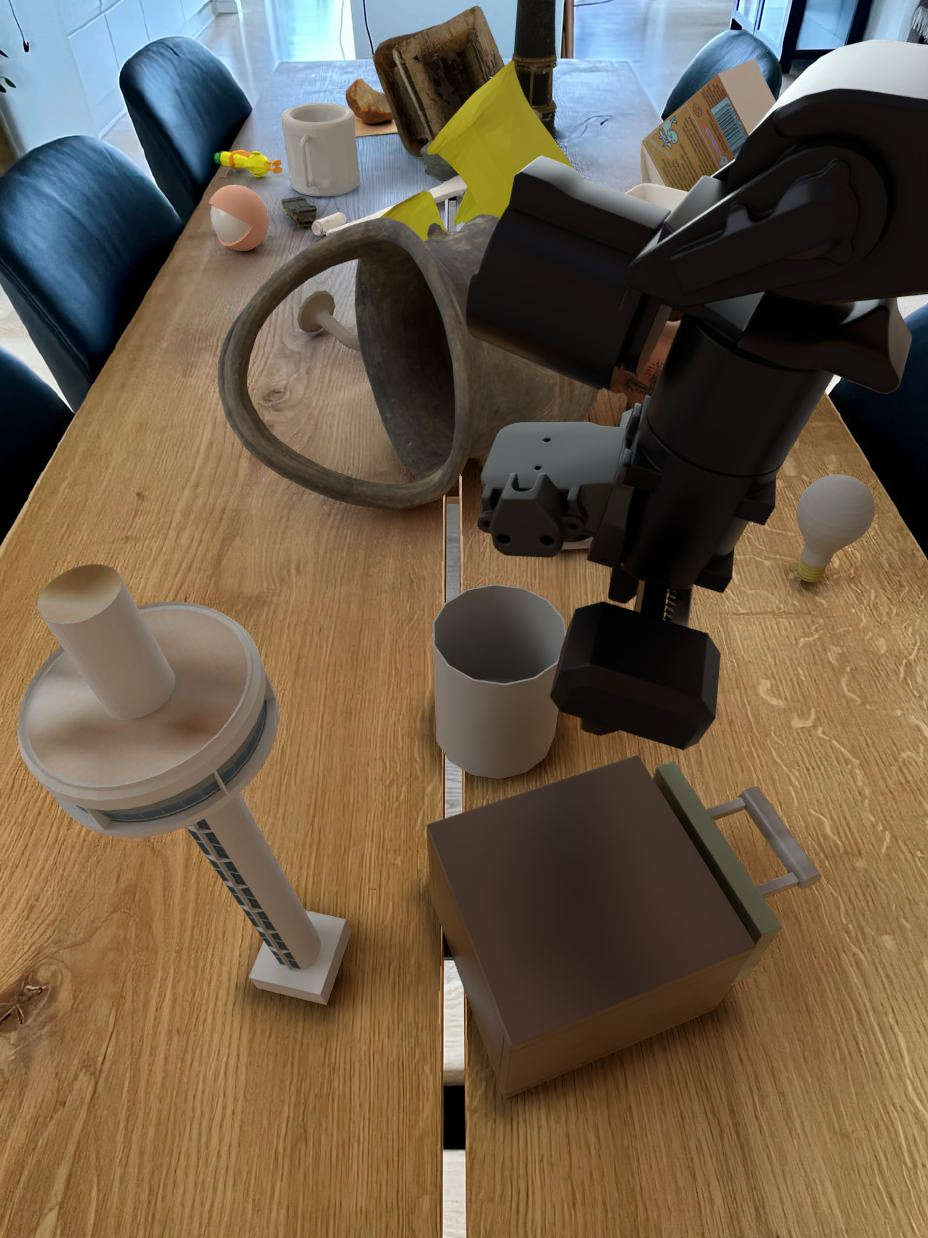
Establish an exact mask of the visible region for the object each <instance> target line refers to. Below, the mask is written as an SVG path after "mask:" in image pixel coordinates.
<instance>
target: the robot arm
mask: <svg viewBox="0 0 928 1238" xmlns="http://www.w3.org/2000/svg"><path fill="white" fill-rule="evenodd" d="M925 295H928V44H921V43H915V42H907V41H900V40H893V39H892V40H891V39H868V40H865V41H860V42H856V43H852V44H847V45H843V46H840V47H838V48H836V49H834V50H832V51H830V52H828V53H826V54H824V55H822V56H820V57H819V58H818V59H817V60H816V61H814V62H813V63H812V64H811V65H809V66H808V67H807V68H806V69H805V70H804V71H803V72H802V73H801V74H800V75H799V76H798V77H797V78H796V79H795V80H794V81H793V83H791V85H789V86H788V87H787V89H786V90H784V92H783V93H782V94H781V96H780V97H779V98H777V100H776V103H775V104H774V105H773V107H772V108H771V109H770V110H769V112H768V113H767V114H766V115H765V116H764V118H763V119H762V120H761V121H760V123H759V124H758V125H757V126H756V127H755V129H754V130H753V131H752V132H751V133H750V135H749V136H748V137H747V139H746V140H745V142H744V144H743V146H742V148H741V150H740V151H739V153H738V155H737V157H736V159H734V160H733V161H731V162H730V163H729V164H727V165H726V166H724V167H723V168H722V169H720V170H719V171H717V172H716V173H715V174H713V175H712V176H710V177H709V176H702V177H701V178H700V180H699V181H698V182H697V183H696V184H695V185H694V187H693V188H692V189H691V190H690V191H689V193H688V194H687V195H686V196H685V197H684V198H683V200H682V201H681V202H680V203H679V204H678V205H677V207H676V208H675V209H674V210H673V211H672V213H671V211H670V210H668V209H665V208H662V207H660V206H657V205H655V204H652V203H649V202H647V201H644V200H641V199H639V198H636V197H633V196H631V195H628V194H625V192H623V191H620V190H617V189H615V188H612V187H609V186H607V185H605V184H601V183H600V182H599V183H598V182H596V181H593V180H591V179H590V178H587V177H586V176H584V175H583V174H582V173H580V172H578V171H577V169H575V170H574V169H573V168H571V167H569V166H567V165H565V164H563V163H560V162H558V161H555V160H552V159H550V158H547V157H544V156H540V157H538V158H536V159H535V160H534V161H532V162H531V163H530V164H529V165H527V166H526V167H525V168H523V169H522V170H521V171H520V172H518V173H517V174H516V175H515V176H514V180H513V186H512V191H511V196H510V201H509V205H508V206H507V208H506V209H505V211H504V213H503V214H502V216H501V218H500V220H499V221H498V223H497V225H496V227H495V229H494V232H493V234H492V236H491V238H490V240H489V243H488V245H487V248H486V251H485V253H484V256H483V259H482V261H481V265H480V268H479V270H478V271H476V272H475V273H474V275H473V276H472V278H471V281H470V285H469V290H468V295H467V303H466V326H467V329H468V332H469V334H470V335H471V336H472V337H475V338H477V339H479V340H482V341H484V342H486V343H489V344H491V345H493V346H496V347H498V348H500V349H503V350H505V351H507V352H510V353H512V354H514V355H517V356H519V357H521V358H524V359H526V360H528V361H531V362H533V363H535V364H538V365H540V366H542V367H545V368H547V369H549V370H552V371H554V372H556V373H559V374H561V375H563V376H566V377H568V378H570V379H573V380H575V381H577V382H580V383H582V384H585V385H587V386H589V387H592V388H594V389H596V390H599V391H602V390H603V389H604V390H607V391H609V392H611V391H610V389H611V388H612V386H613V384H614V382H615V380H616V378H617V376H618V373H619V371H620V368H621V367H622V368H623V370H624V372H627V373H629V374H631V375H634V376H636V377H637V376H638V375H639V374H640V373H641V372H642V370H643V369H644V367H645V365H646V364H647V362H648V360H649V358H650V356H651V355H652V353H653V351H654V349H655V347H656V345H657V342H658V340H659V338H660V336H661V334H662V332H663V329H664V327H665V325H666V323H667V320H668V318H669V315H670V313H671V310H672V308H673V309H676V310H678V311H681V312H683V313H684V314H683V316H682V319H681V322H680V324H679V327H678V329H677V332H676V334H675V337H674V339H673V342H672V344H671V347H670V350H669V352H668V355H667V357H666V360H665V362H664V365H663V367H662V370H661V372H660V375H659V378H658V380H657V383H656V385H655V388H654V390H653V393H652V395H651V397H650V396H647V395H646V396H645V399H644V401H643V404H638V403H635V405H634V408H633V409H630V410H628V411H626V412H625V411H623V412H622V413H621V416H620V419H619V422H618V424H617V426H610V425H599V424H596V423H594V422H590V421H584V422H523V423H514V424H511V425H508V426H506V427H504V428H503V429H501V430H500V431H499V433H498V434H497V436H496V438H495V441H494V443H493V446H492V448H491V451H490V453H489V456H488V458H487V461H486V463H485V466H484V468H482V470H481V473H480V482H481V488H482V494H481V497H480V501H481V510H480V513H479V516H478V518H477V522H476V525H477V528H478V529H479V530H480V531H482V532H483V533H486V534H490V537H491V541H492V546H493V547H494V549H495V550H496V551H497V552H499V553H500V554H502V555H504V556H507V557H526V558H547V559H549V558H551V559H552V558H554V557H556V556H557V555H558V554H560V553H561V551H562V547H563V543H564V542H580V541H583V540H586V539H588V538H590V537H591V536H592V537H593V539H592V542H591V544H590V547H589V548H588V551H587V556H586V561H588V562H591V563H594V564H598V565H601V566H604V567H607V568H610V569H611V573H610V580H609V586H608V591H607V598H608V600H609V601H611V602H614V603H618V604H622V605H626V604H628V603H629V602H631V600H632V599H634V598H635V601H634V606H633V609H630V608H627V607H624V606H620V605H617V604H614V603H611V602H607V601H604V600H602V601H598V602H595V603H591V604H587V605H584V606H580V607H577V608H575V609H574V611H573V613H572V615H571V616H572V617H571V618H570V621H569V623H568V626H567V628H566V636H565V639H564V642H563V645H562V648H561V652H560V656H559V660H558V664H557V668H556V672H555V676H554V681H553V685H552V689H551V693H550V698H551V699H552V701H553V702H554V704H555V705H556V706H557V708H558V712H560V713H562V714H566V715H569V716H572V717H576V718H579V719H580V726H579V727H580V730H581V731H582V732H585V733H587V734H591V735H594V736H597V737H603V736H606V735H610V734H614V733H617V732H620V731H621V732H623V733H626V734H630V735H633V736H636V737H640V738H642V739H646V740H649V741H652V742H655V743H658V744H661V745H665V746H668V747H671V748H674V749H677V750H681V751H685V750H687V749H689V748H691V747H693V746H695V745H697V744H699V743H700V741H701V739H702V738H703V737H704V735H705V734H706V733H707V731H708V730H709V728H710V727H711V726H712V724H713V723H714V722H715V720H716V716H717V705H718V694H719V693H718V691H719V681H720V680H719V679H720V670H721V669H720V666H721V657H722V656H721V655H722V653H721V651H720V650H719V648H718V647H717V645H716V643H715V642H714V641H713V639H712V638H711V636H710V635H709V633H708V632H706V631H702V630H699V629H696V628H692V627H689V626H690V617H691V610H692V600H693V591H694V586H697V587H700V588H703V589H705V590H709V591H713V592H716V593H719V594H722V595H723V594H724V593H725V591H726V590H727V588H728V587H729V584H730V583H731V582H732V579H733V575H734V574H733V573H734V560H735V559H734V558H735V548H736V547H735V546H736V545H737V543H738V542H739V540H740V538H741V537H742V535H743V533H744V531H745V530H746V528H747V526H748V525H749V523H750V522H751V523H753V524H757V525H760V526H763V527H764V526H765V525H766V523H767V522H768V520H769V519H770V517H771V515H772V513H773V512H774V510H775V508H776V500H777V499H776V496H777V476H778V473H779V471H780V470H781V468H782V466H783V465H784V462H785V461H786V459H787V458H788V456H789V454H790V452H791V450H792V448H793V447H794V445H795V444H796V442H797V440H798V438H799V437H800V435H801V433H802V431H803V430H804V428H805V426H806V425H807V423H808V421H809V419H810V418H811V416H812V414H813V412H814V411H815V409H816V408H817V405H818V404H819V402H820V400H821V399H822V397H823V396H824V394H825V392H826V390H827V389H828V387H829V385H830V384H831V382H832V380H833V378H834V377H835V376H836V377H839V378H842V379H845V380H846V381H849V382H851V383H854V384H857V385H859V386H862V387H864V388H867V389H868V390H871V391H875V392H876V393H880V394H882V395H883V394H884V395H885V394H888V395H889V394H891V393H894V392H895V391H896V390H898V388H899V387H900V386H901V382H902V378H903V375H904V371H905V367H906V364H907V360H908V355H909V352H910V349H911V345H912V341H913V336H912V334H911V332H910V330H909V328H908V326H907V324H906V322H905V320H904V318H903V315H902V314H901V311H900V309H899V305H898V298H907V297H915V296H925Z"/></svg>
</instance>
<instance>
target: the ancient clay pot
mask: <svg viewBox="0 0 928 1238" xmlns="http://www.w3.org/2000/svg"><path fill="white" fill-rule="evenodd" d="M499 220H500V218H498V217H497V216H495V215H487V214H481V215H478V216H476V217H474V218H472V219H471V220H469V221H468V222H466V223H463V225H462V226H461V227H460V229H459V230H456V231H448V232H446V231H444V230H443V229H442V227H441V226H440V225H439V224H437V223H432V224H431V225H430V226H429V228H428V232H427V236H428V240H426V241H423V240H422V239H421V237H420V236H419V235H417V234H416V233H415V232H414V231H413V230H412V229H411V228H409V227H408V226H407V225H406V224H405V223H402V222H400V221H397V220H395V219H392V218H389V217H387V218H376V219H372V220H367V221H364V222H360V223H357V224H353V225H350V226H348V227H345V228H343V229H341V230H339V231H336V232H334V233H332V234H330V235H328V236H326V235H325V236H323V237H322V238H321V239H319V240H318V241H316V242H314V243H313V244H311V245H310V246H308V247H306V248H305V249H303V250H301V251H300V252H299V253H297V254H296V255H294V256H293V257H292V258H290V259H289V260H288V261H287V262H286V263H284V264H283V265H281V266H280V267H279V268H278V269H277V270H275V271H274V273H272V275H270V277H269V278H268V279H267V280H266V281H265V282H264V283H263V284H262V285H261V286H260V287H258V289H257V291H256V292H255V293H254V295H253V296H252V297H251V299H250V300H249V301H248V303H247V304H246V305H245V306H244V307H243V309H242V310H241V312H240V313H238V316H237V317H236V318H235V320H234V321H233V323H232V325H231V326H230V327H229V328H228V331H227V333H226V336H225V337H224V341H223V343H222V346H221V349H220V350H221V351H220V354H219V358H218V361H217V377H216V378H217V389H218V395H219V398H220V402H221V406H222V410H223V413H224V416H225V418H226V421H227V422H228V424H229V426H230V428H231V430H232V431H233V433H234V435H235V436H236V437H237V438H238V440H239V442H240V443H241V444H242V446H243V447H244V448H245V449H246V450H247V451H248V453H250V454H251V455H252V456H253V457H254V458H256V460H257V461H259V462H260V463H261V464H262V465H264V466H265V467H267V468H268V469H270V470H271V471H273V472H274V473H275V474H278V475H279V476H280V477H282V478H284V479H286V480H288V481H290V482H292V483H294V484H296V485H298V486H300V487H302V488H304V489H306V490H309V491H311V492H313V493H316V494H318V495H322V496H324V497H326V498H328V499H332V500H334V501H338V502H340V503H343V504H344V503H345V504H348V505H352V506H358V507H364V508H371V509H376V510H383V511H406V510H410V509H414V508H417V507H419V506H422V505H424V504H429V503H433V502H436V501H438V500H440V499H442V498H443V497H445V496H446V495H447V494H448V492H449V491H450V490H451V489H452V487H453V486H454V485H455V483H456V482H457V481H458V480H459V478H460V476H461V474H462V473H463V471H464V469H465V468H466V464H467V461H468V460H469V459H474V460H476V463H477V465H478V466H479V467H480V468H481V469H483V468H484V466H485V463H486V461H487V458H488V456H489V453H490V451H491V448H492V446H493V443H494V441H495V438H496V436H497V434H498V433H499V431H500V430H501V429H503V428H504V427H506V426H508V425H511V424H514V423H523V422H586V420H587V419H588V416H589V415H590V413H591V411H592V410H593V408H594V407H595V404H596V403H597V399H598V395H599V392H600V390H596V389H594V388H592V387H589V386H587V385H585V384H582V383H580V382H577V381H575V380H573V379H570V378H568V377H566V376H563V375H561V374H559V373H556V372H554V371H552V370H549V369H547V368H545V367H542V366H540V365H538V364H535V363H533V362H531V361H528V360H526V359H524V358H521V357H519V356H517V355H514V354H512V353H510V352H507V351H505V350H503V349H500V348H498V347H496V346H493V345H491V344H489V343H486V342H484V341H482V340H479V339H477V338H475V337H472V336H471V335H470V334H469V332H468V329H467V326H466V303H467V295H468V290H469V285H470V281H471V278H472V276H473V275H474V273H475V272H476V271H478V270H479V268H480V265H481V261H482V259H483V256H484V253H485V251H486V248H487V245H488V243H489V240H490V238H491V236H492V234H493V232H494V229H495V227H496V225H497V223H498V221H499ZM355 260H357V262H356V271H355V281H354V282H355V283H354V284H355V285H354V311H355V323H356V335H358V339H359V344H360V350H361V351H360V354H361V359H362V363H363V366H364V370H365V372H366V375H367V379H368V382H369V385H370V388H371V391H372V394H373V399H374V401H375V404H376V407H377V410H378V413H379V417H380V418H381V422H382V425H383V427H384V429H385V431H386V435H387V436H388V439H389V441H390V443H391V445H392V448H393V449H394V451H395V453H396V455H397V456H398V458H399V459H400V461H401V463H403V464H404V466H405V467H407V469H408V470H409V471H410V472H411V474H413V476H414V480H413V481H411V482H407V483H389V484H388V483H382V482H381V483H380V482H376V481H368V480H364V479H361V478H355V477H353V476H350V475H347V474H344V473H341V472H339V471H336V470H333V469H331V468H328V467H326V466H324V465H321V464H320V463H318V462H316V461H314V460H312V459H310V458H308V457H306V456H304V455H303V454H301V453H299V452H298V451H296V450H295V449H293V448H292V447H290V446H289V445H288V444H286V443H285V442H283V441H282V440H281V439H279V438H278V437H277V435H275V434H273V432H272V431H271V430H270V428H269V427H268V426H267V424H266V423H265V422H264V421H263V419H262V417H261V416H260V414H259V413H258V410H257V408H255V405H254V403H253V401H252V398H251V396H250V392H249V388H248V374H249V369H250V368H249V367H250V363H251V355H252V353H253V349H254V347H255V343H256V340H257V337H258V335H259V333H260V331H261V330H262V327H263V326H265V325H264V324H265V323H266V321H267V319H268V318H269V317H270V316H271V315H272V313H273V312H274V311H275V310H276V309H277V308H278V306H279V305H281V303H283V302H284V300H286V299H287V298H288V297H289V295H291V293H293V292H294V291H296V290H297V289H298V288H299V287H300V286H302V285H303V284H304V283H307V282H308V281H309V280H310V279H312V278H315V277H316V276H318V275H319V274H321V273H323V272H326V271H327V270H328V269H331V268H333V267H336V266H339V265H342V264H345V263H348V262H352V261H355Z"/></svg>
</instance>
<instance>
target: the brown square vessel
mask: <svg viewBox="0 0 928 1238" xmlns="http://www.w3.org/2000/svg"><path fill="white" fill-rule="evenodd" d="M499 50H500V49H499V47H498V45H497V43H496V40H495V38H494V36H493V34H492V31H491V28H490V26H489V23H488V20H487V18H486V15H485V13H484V11H483V9H482V8H481V7H480V6H479V5H474V6H472V7H470V8H468V9H465V10H464V11H462V12H461V13H458V14H457V15H455V16H453V17H452V18H450V19H447V21H445V22H442V23H439V24H436V25H432V26H429V27H426V28H424V29H421V30H418V31H415V32H412V33H405V34H401V35H398V36H393V37H390V38H388V39H385V40H384V41H381V42H380V43H379V44H378V45H377V48H375V50H374V53H373V55H372V57H371V58H372V61H373V65H374V69H375V72H376V75H377V77H378V81H379V84H380V86H381V89H382V92H383V93H384V94H385V96H386V99H387V102H388V104H389V107H390V110H391V112H392V115H393V118H394V121H395V124H396V128H397V131H398V132H397V134H398V136H399V139H400V141H401V144H402V146H403V148H404V149H405V150H406V151H407V153H408V154H409V155H411V156H412V157H414V158H416V159H417V158H418V159H419V158H423V155H421V154H420V151H421V149H422V148H423V147H424V146H425V145H426V144H427V143H428V142H430V141H433V140H434V139H435V138H436V136H437V135H438V133H439V132H440V131H441V130H442V129H443V127H444V126H445V125H446V124H447V123H448V122H449V121H450V119H451V118H452V117H453V116H454V115H455V114H456V113H457V111H458V110H459V109H460V108H461V107H462V106H463V105H464V103H465V102H466V101H467V100H468V99H469V98H470V97H471V96H472V95H473V94H474V93H475V92H476V91H477V90H478V89H480V88H481V87H482V86H483V85H484V84H486V83H487V82H488V81H489V80H490V79H491V78H493V77H494V76H495V75H496V74H497V73H498V72H499V71H500V70H501V69H502V68H503V67H504V66H505V65H506V64H505V61H504V60H503V58H502V56H501V54H500V53H501V52H500V51H499Z"/></svg>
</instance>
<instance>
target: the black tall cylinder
mask: <svg viewBox="0 0 928 1238" xmlns="http://www.w3.org/2000/svg"><path fill="white" fill-rule="evenodd" d="M556 1H557V0H516V16H515V28H514V29H515V30H514V41H513V43H514V45H513V52H512V56H511V60H513V61H514V65H515V71H516V75H517V78H518V81H519V84H520V86H521V89H522V91H523V93H524V96H525V98H526V99H527V101H528V103H529V105H530V107H531V108H532V109H533V110H536V111H538V112H539V113H541V114H542V119H541V122H542V124H543V125H544V126H545V128H546V129H547V131H548V132H549V133H550V135H551V136H552V137H553V139H555V138H556V137H557V128H556V127H555V121H556V110H557V109H558V105H557V103H556V101H555V100H554V99H553V93H554V91H553V90H554V89H553V84H554V69H555V68H556V67H557V66H558V63H557V61H558V58H557V49H556V12H557V11H556V10H557V9H556V7H557V5H556V4H557V2H556Z"/></svg>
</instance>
